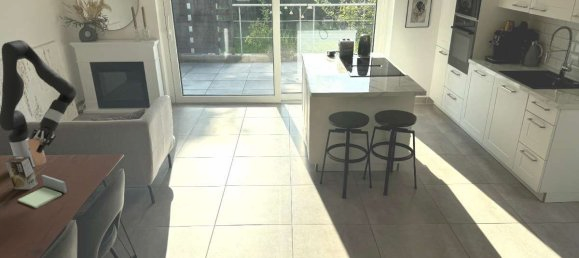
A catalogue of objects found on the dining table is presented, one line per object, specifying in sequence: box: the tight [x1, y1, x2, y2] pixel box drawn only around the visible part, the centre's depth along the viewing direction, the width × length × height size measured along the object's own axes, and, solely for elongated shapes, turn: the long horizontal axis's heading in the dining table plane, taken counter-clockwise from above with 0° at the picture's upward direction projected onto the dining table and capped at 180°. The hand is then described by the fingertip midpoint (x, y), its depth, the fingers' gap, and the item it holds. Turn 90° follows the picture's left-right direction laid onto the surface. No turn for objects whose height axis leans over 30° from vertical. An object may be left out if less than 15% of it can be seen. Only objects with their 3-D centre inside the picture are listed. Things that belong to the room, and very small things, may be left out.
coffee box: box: [4, 155, 39, 190], centre depth 201 cm, size 9×6×16 cm
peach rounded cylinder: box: [28, 137, 47, 166], centre depth 189 cm, size 5×5×12 cm
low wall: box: [41, 174, 68, 194], centre depth 201 cm, size 17×1×6 cm, turn 63°
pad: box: [17, 186, 62, 209], centre depth 193 cm, size 14×13×1 cm
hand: (34, 151), depth 188 cm, fingers closed on peach rounded cylinder, 5 cm apart
